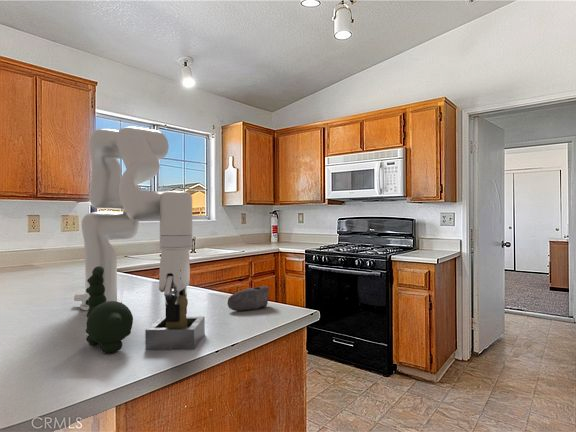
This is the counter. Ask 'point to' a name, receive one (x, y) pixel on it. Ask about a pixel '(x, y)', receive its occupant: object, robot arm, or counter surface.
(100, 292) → the toy figurine
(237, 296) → the perforated stone tool
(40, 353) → the counter surface
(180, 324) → the cork
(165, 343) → the metal open box
